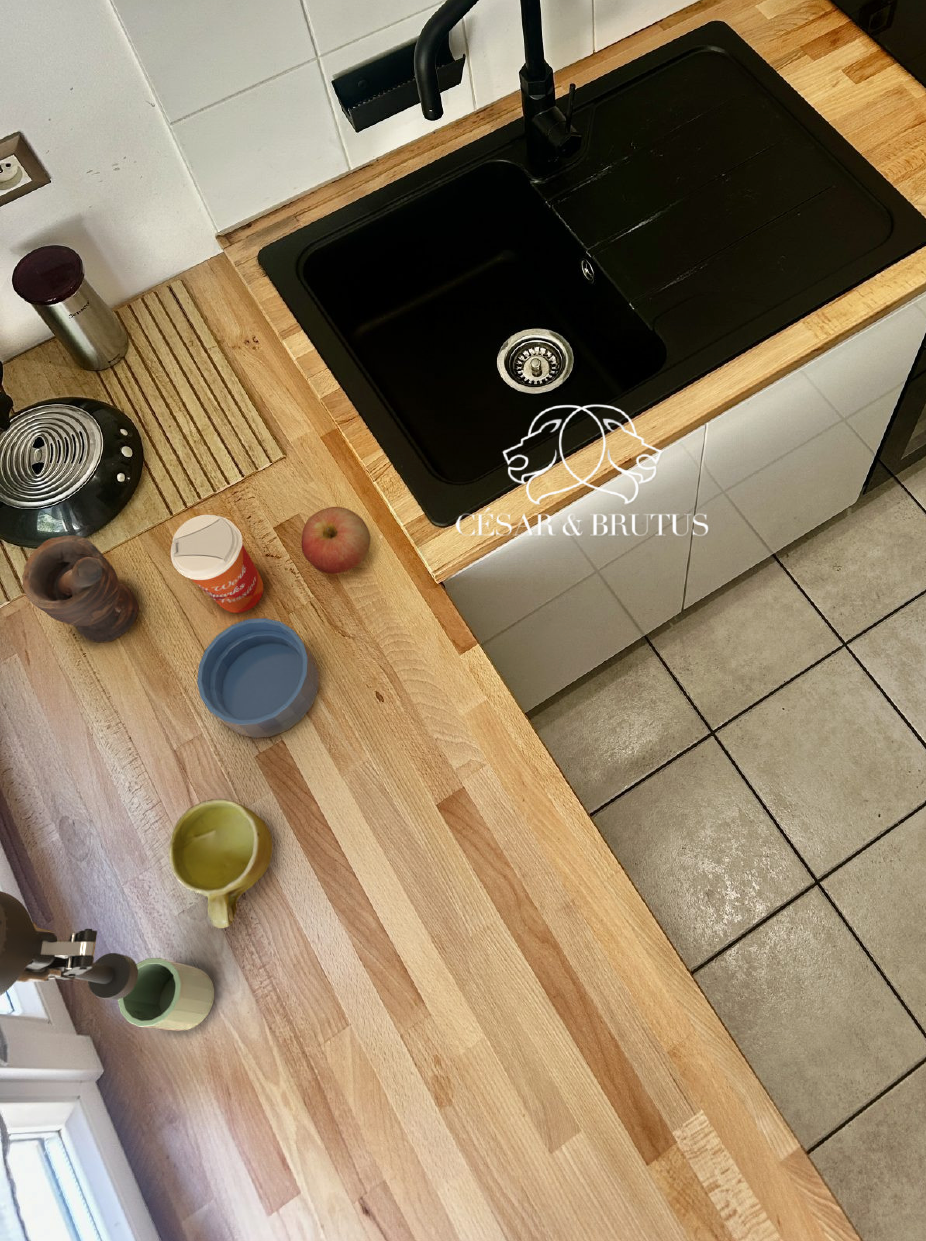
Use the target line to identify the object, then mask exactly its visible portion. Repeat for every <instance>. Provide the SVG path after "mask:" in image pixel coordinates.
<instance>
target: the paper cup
mask: <svg viewBox="0 0 926 1241" xmlns="http://www.w3.org/2000/svg"><path fill="white" fill-rule="evenodd" d="M170 560H171V562H172V565H173V567H174V568H175V570H176V571H177V573H179V574H180V575H182V576H183V577H185V578H187V579H189V580H191V582H192V583H194V584H195V585H196V586H197V587H198V588H200V589H201V590H202V591H203V592H204V593H205V594H206V595H207V596H208V597H209V598H211V599H212V600H213V601H214V602H215V603H216V604H217V605H218V606H220V607H221V608H223V609H224V610H226V611H228V612H229V613H235V614H236V613H237V614H238V613H239V614H240V613H245V612H247V611H250V610H251V609H253V608H254V607H256V605H258V603H259V602H260V600H261V599H262V596H263V594H264V583H263V579H262V577H261V575H260V573H259V571H258V569H257V567H256V565H255V563H254V562H253V560H252V558H251V557H250V555H249V553H248V550H247V549H246V547H245V546H244V544H243V536H242V533H241V530H240V529H239V528H238V526H236V525H235V524H234V522H232V521H231V520H230V519H227V518H226V517H223V516H220V515H215V514H201V515H198V516H197V515H196V516H194V517H192V518H190V519H188V520H187V521H185V522H184V523H183V524H182V525H180V526H179V527H178V529H177V530H176V531H175V533H174V535H173V538H172V543H171V547H170Z"/></svg>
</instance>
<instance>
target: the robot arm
mask: <svg viewBox="0 0 926 1241" xmlns="http://www.w3.org/2000/svg"><path fill="white" fill-rule="evenodd" d="M97 937H98V930H93V928H85V929H83V930H79V931H78V932H71V933H70V934H69V938H68V940H67V941H65V940H62V939H60V938H59V939H58V936H57V934H55V931H53V930H50V929H46V928H42V927H38V925H37V923H36V922H33V920H32V918H31V916H30V914H29V912H28V910H27V908H26V907H25V905H24V904H23V903H22V902H21V901H20V900H19V899H18V898H17V897H15V896H13V895H12V894H9V893H7V892H5V891H1V890H0V997H1V996H2V995H4V994H5V993H6V992H7V991H8V990H10V988H11V987H12V986H13V985H14V984H16V983H17V984H18V983H37V982H48V981H49V980H55V979H57V980H64V981H66V980H69V981H70V980H74V979H75V977H76V975H80V974H82V973H84V972H86V971H87V970H89V969H91V968H92V967H93V963H94V960H95V959H94V958H95V952H96V945H97V944H96V943H97Z"/></svg>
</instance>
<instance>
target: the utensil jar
mask: <svg viewBox="0 0 926 1241" xmlns="http://www.w3.org/2000/svg"><path fill="white" fill-rule="evenodd" d="M136 965H137V968H138V979H137V982H136V985H135V986H134V988H133V989H132V991H131V992H130V993H129V994H128V995H126V996H125V997H123V998H121V999H118V1000H117V1003H118V1007H119V1011H120V1014H121V1015H122V1016H123V1018H124V1019H125V1020H126V1021H127V1022H128V1023H129V1024H132V1025H135V1026H136V1027H140V1028H149V1029H159V1030H166V1031H174V1032H175V1031H187V1030H191V1029H194V1028H195V1027H197V1026H198V1025H200V1024H201V1023H202V1022H203V1021H204V1020H205V1019H206V1018H207V1016H208V1015H209V1013H210V1011H211V1010H212V1008H213V1005H214V1001H215V987H214V983H213V980H212V979H211V977H210V976H209V975H208V974H207V973H206V972H205V971H204V970H203V969H201V968H198V967H195V966H193V965H192V966H191V965H189V964H185V963H181V962H177V961H173V960H169V959H166V958H161V957H151V958H146V959H143V960H142V961H139V962H138V963H136Z"/></svg>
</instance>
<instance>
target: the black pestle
mask: <svg viewBox="0 0 926 1241" xmlns="http://www.w3.org/2000/svg"><path fill="white" fill-rule="evenodd" d="M136 964H137V963H136V961H135V960H134V959H133V958H132V957H130V956H128V955H124V954H121V953H118V952H117V953H116V952H110V953H106V954H103V955H102V956H100V957H99V958H97V960H96V961H94V962H93V967H92V968H91V969H89V970H87V971H86V972H84V973H82V974H80V975H76V977H75V978H74V979H76V980H80V981H84V982H85V981H87V983H88V988H89V990H90V992H91V993H92V994H93V995H94V996H95V997H97V998H99V999H104V1000H110V1001H118V999H121V998H123V997H125V996H126V995H128V994H129V993H130V992H131V991H132V989H133V988H134V986H135V985H136V982H137V979H138V968H137V965H136Z"/></svg>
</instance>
